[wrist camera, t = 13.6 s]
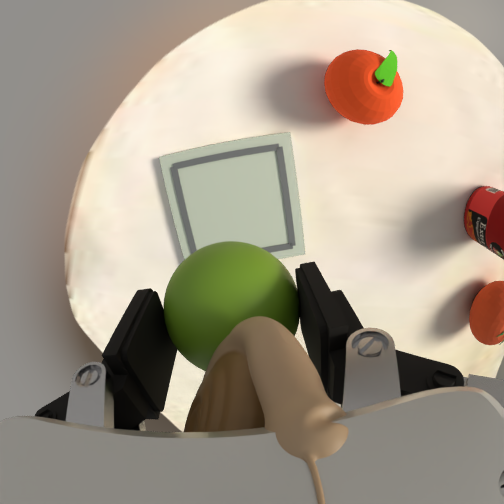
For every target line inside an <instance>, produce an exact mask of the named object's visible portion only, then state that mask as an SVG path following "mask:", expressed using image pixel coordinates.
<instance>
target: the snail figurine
mask: <svg viewBox="0 0 504 504" xmlns="http://www.w3.org/2000/svg"><path fill="white" fill-rule="evenodd" d="M299 318H300V303H299V297H298V292H297V288H296V285H295V282H294V280H293V278H292V276H291V275H290V273H289V272H288V270H287V269H286V267H285V266H284V265H283V264H282V263H281V262H280V261H279V260H278V259H277V258H276V257H275V256H273V255H272V254H271V253H269V252H268V251H266V250H264V249H262V248H260V247H258V246H255V245H252V244H249V243H244V242H237V241H226V242H218V243H214V244H211V245H208V246H205V247H203V248H201V249H199V250H197V251H195V252H194V253H192V254H191V255H190V256H188V257H187V258H186V259H185V260H184V261H183V262H182V263H181V264H180V265H179V266H178V268H177V269H176V270H175V272H174V273H173V275H172V277H171V279H170V281H169V283H168V286H167V289H166V293H165V298H164V319H165V324H166V328H167V331H168V333H169V336H170V338H171V340H172V342H173V343H174V345H175V347H176V348H177V349H178V351H179V352H180V353H181V354H182V355H183V356H184V357H185V358H186V359H187V360H188V361H189V362H191V363H192V364H194V365H195V366H197V367H198V368H200V369H202V370H204V371H206V372H205V375H204V378H203V381H202V383H201V385H200V387H199V389H198V391H197V394H196V396H195V398H194V400H193V402H192V405H191V408H190V410H189V413H188V417H187V420H186V424H185V429H184V432H216V431H232V430H243V429H254V428H262V427H265V429H266V430H268V431H271V432H275V434H276V438H277V441H278V443H279V444H280V446H281V447H282V448H283V449H284V450H285V451H286V452H287V453H289V454H290V455H292V456H294V457H297V458H300V459H302V460H304V461H305V462H306V463H307V464H308V466H309V469H310V471H311V474H312V478H313V481H314V485H315V489H316V494H317V501H318V504H325V498H324V493H323V488H322V484H321V480H320V476H319V473H318V469H317V466H316V464H315V461H316V460H317V459H321V458H325V457H328V456H330V455H332V454H334V453H335V452H337V451H338V450H339V449H340V448H341V447H342V446H343V444H344V443H345V441H346V439H347V436H348V428H347V427H346V426H345V425H342V424H339V423H333V422H331V421H333V420H335V419H338V418H340V417H343V416H345V415H346V413H345V411H344V410H343V409H342V408H341V407H339V406H338V405H337V404H336V403H334V402H333V401H332V400H331V399H330V398H329V397H328V396H327V394H326V392H325V389H324V387H323V384H322V381H321V378H320V376H319V374H318V372H317V370H316V368H315V366H314V364H313V363H312V361H311V359H310V358H309V356H308V355H307V353H306V352H305V350H304V349H303V347H302V346H301V344H300V343H299V342H298V340H297V339H296V338H295V337H294V336H295V334H296V331H297V328H298V324H299Z"/></svg>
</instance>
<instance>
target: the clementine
mask: <svg viewBox="0 0 504 504" xmlns="http://www.w3.org/2000/svg"><path fill="white" fill-rule="evenodd" d="M389 51H391V52H390V53H389V55H388V57H387V58H386V59H385V58H384V57H382V56H381V55H379V54H376V53H374V52H371V51H367V50H352V51H348V52H345V53H342V54H341V55H339V56H337V57H336V58H335V59H334V60H333V61H332V62H331V64H330V65H329V67H328V69H327V71H326V74H325V81H324V85H325V91H326V94H327V97H328V99H329V101H330V103H331V104H332V106H333V107H334V108H335V110H336V111H337V112H339V113H340V114H341V115H342V116H343V117H345V118H347V119H349V120H351V121H353V122H357V123H361V124H377V123H380V122H383V121H386V120H388V119H389V118H390V117H392V116H393V115H394V114H395V112H396V111H397V110H398V108H399V107H400V105H401V102H402V99H403V86H402V81H401V79H400V76H399V74H398V72H397V57H396V55H395V53H394V52H393V51H392V50H389Z"/></svg>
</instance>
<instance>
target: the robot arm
mask: <svg viewBox="0 0 504 504" xmlns="http://www.w3.org/2000/svg"><path fill="white" fill-rule="evenodd" d="M295 273H296V282H297V292H298V297H299V303H300V324H301V330H302V334H303V337H304V341H305V344H306V348H307V351H308V355H309V358H310V359H311V361H312V363H313V364H314V366H315V368H316V370H317V372H318V374H319V376H320V378H321V381H322V384H323V387H324V389H325V392H326V394H327V396H328V397H329V398H330V399H331V400H332V401H333V402H334V403H336V404H337V405H338V406H339V407H341V408H342V409H343V410H344V411H345V413H346V415H345V416H343V417H340V418H338V419H335V420H333V421H331V422H333V423H339V424H342V425H345V426H346V427H347V428H348V436H347V439H346V441H345V443H344V444H343V446H342V447H341V448H340V449H339V450H338V451H337V452H335V453H334V454H332V455H330V456H328V457H325V458H321V459H317V460H316V461H315V464H316V466H317V469H318V473H319V476H320V480H321V484H322V488H323V493H324V498H325V504H504V380H502V379H495V378H489V377H483V376H477V375H471V374H469V375H468V377H463V375H462V374H461V372H460V371H459V370H458V369H457V368H455V367H454V366H451V365H449V364H445V363H441V362H437V361H434V360H430V359H426V358H423V357H419V356H416V355H412V354H409V353H405V352H402V351H398V350H395V345H394V341H393V338H392V337H391V336H390V335H389V334H388V333H387V332H385V331H383V330H381V329H377V328H363V326H362V324H361V323H360V321H359V319H358V317H357V316H356V314H355V312H354V311H353V309H352V307H351V305H350V304H349V302H348V300H347V299H346V297H345V295H344V294H343V292H342V291H341V290H337V291H332V292H331V291H330V289H329V287H328V285H327V283H326V282H325V280H324V278H323V276H322V274H321V273H320V271H319V269H318V267H317V265H316V264H315V262H309V263H304V264H300V268H297V269H295ZM176 353H177V348H176V347H175V345H174V343H173V342H172V340H171V338H170V336H169V333H168V331H167V328H166V324H165V319H164V309H163V306H162V304H161V301H160V299H159V296H158V294H157V292H156V291H153V290H152V289H151V288H150V289H143V290H138V291H137V292H136V294H135V295H134V297H133V299H132V301H131V302H130V304H129V306H128V308H127V309H126V311H125V313H124V315H123V317H122V318H121V320H120V322H119V324H118V326H117V328H116V329H115V331H114V333H113V335H112V337H111V339H110V341H109V343H108V345H107V346H106V348H105V350H104V352H103V354H102V356H103V358H104V359H103V361H102V363H100V362H90V363H87V364H85V365H83V366H81V367H80V368H79V369H78V370H77V371H76V372H75V374H74V375H73V378H72V383H71V388H70V391H69V392H68V393H66V394H64V395H63V396H61V397H59V398H58V399H56V400H54V401H53V402H51V403H49V404H48V405H46V406H44V407H42V408H41V409H39V410H38V411H37V413H36V414H35V416H17V417H11V418H7V419H4V420H2V421H0V504H318V501H317V494H316V489H315V485H314V481H313V478H312V474H311V471H310V469H309V466H308V464H307V463H306V462H305V461H304V460H302V459H300V458H297V457H294V456H292V455H290V454H289V453H287V452H286V451H285V450H284V449H283V448H282V447H281V446H280V444H279V443H278V441H277V438H276V434H275V432H271V431H268V430H266V429H265V427H262V428H254V429H243V430H232V431H216V432H152V431H145V424H144V420H145V419H158V418H159V414H160V412H162V411H163V410H164V406H165V401H166V397H167V392H168V388H169V383H170V379H171V374H172V370H173V366H174V361H175V357H176Z"/></svg>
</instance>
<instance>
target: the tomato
mask: <svg viewBox="0 0 504 504" xmlns="http://www.w3.org/2000/svg"><path fill="white" fill-rule="evenodd" d="M469 322H470V328H471V331H472V333H473V335H474V336H475V338H476V339H477V340H478V341H479V342H481V343H483V344H485V345H495V344H498V343H500V342H501V343H502V342H503V341H504V281H494V282H492V283H489V284H488V285H486V286H485V287H484V288H482V289H481V290H480V291H479V293H478V294H477V295H476V297H475V299H474V301H473V303H472V306H471V309H470V317H469ZM501 343H500V344H501Z"/></svg>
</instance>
